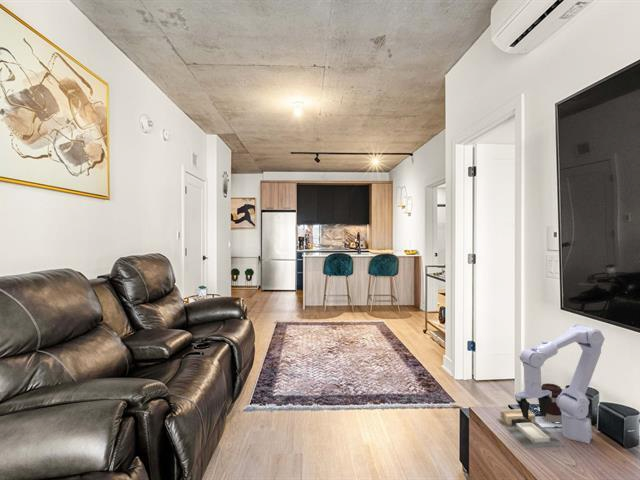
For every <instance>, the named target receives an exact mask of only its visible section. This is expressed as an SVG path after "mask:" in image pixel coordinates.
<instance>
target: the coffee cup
mask: <svg viewBox="0 0 640 480" xmlns="http://www.w3.org/2000/svg"><path fill="white" fill-rule="evenodd" d="M541 387H542V390H549V391H551V392H552V397H549V398H551V399H552V402H551V404H550V405H549V407H548V410H547V413H546V417H544V416H542V418H544V419H545V420H544V419H543V420H544V421H546V420H547V421H546V422H548V421H549V422H548V423H550V422H562V413H561V411H560V408H559V407H558V406H557V403H556V400H557V397H558V396H559V395H560V394H561V392H562V390H563V388H562V387H561V386H560V385H558V384H554V383H543V384H541Z"/></svg>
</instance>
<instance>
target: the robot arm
mask: <svg viewBox="0 0 640 480" xmlns="http://www.w3.org/2000/svg"><path fill="white" fill-rule="evenodd" d="M604 341H605V337H604V335H603V333H602V331H601V330H600V329H597V328H592V327H588V326H584V325H581V324H577V323H576V324H574V325H572V326H570V327H568V329H567V331H565V332H563V334H561V335H559V336H558V337H557V338H555V339H553V340H552V341H550V340H543V341H541V343H539V344H537V345H536V346H533V347H532V348H526V349H523V350H522V351H521V354H520V355H519V360H520V361H521V363H522V367H523V381H524V389H523V390H522V391H520V392H517V393H514V399H515V401H516V402H517V405H518V406H519V409H521V411H522V415H523V417H524V418H526V419H528V417H529V412H528V411H530V410H529V409H530V405H531V403H530V402H529V401H528V400H530V399H537V400H538V405H539V413H540V415H541V416H542V417H543V416H544V417H546V413H547V410H548V407H549V405H550V404H551V402H552V399H551V398H549V397H552V392H551V391H549V390H542V387H541V386H542V371H541V367H542V366H543V365H544V363H545V362H546V361H547V360H548V359H551V358H552V357H554V356H555V355H557V354H558V352H559V351H558V350H560V349H561V348H564V347H567V346H569V345H571V344H574V343H577V344H578V346H580V348H581V350H582V352H581V355H580V357H579V360H578V362H577V366H576V368H575V371H574V373H573V376H572V379H571V380H570V384H569V386H568V387H566V388H564V389H563V388H562V389H563V390H562V392H561V394H560V395H559V396H558V397H557V400H556V403H557V406H558V407H559V408H560V411H561V413H562V423H561V429H562V436H564V437H565V438H567V439H569V440H572V441H577V442H582V443H586V444H590V443H591V441H592V440H593V439H592V438H593V435H592V434H593V433H592V419H590V418H589V417H587V416H588V414H589V407H590V406H589V405H590V400H589V399H588V397H587V395H586V394H587V390H588V387H589V386H590V382H591V380H592V377H593V375H594V372H595V369H596V367H597V364H598V362H599V359H600V357H601V353H602V346H603V345H604Z"/></svg>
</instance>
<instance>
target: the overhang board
mask: <svg viewBox="0 0 640 480" xmlns="http://www.w3.org/2000/svg"><path fill="white" fill-rule="evenodd" d="M528 412H529V417H528V419H526V418H524V417H523V415H522V411H521V409H520V408H515V409H500V418H496V421H497V422H499V424H500V425H501V426H502V427H503V428H504V429H506V431H508V432H509V433H510V435H512V436H513V437H514V438H515V439H516V440H518V442H519V443H520V444H521V445H523V447H525V449H536V448H557V447H566V445H565V444H564V443H563V442H561V441H560V440H559V439H558V438H556V437H555V436H554V435H553V434H551V433H550V432H549V431H547V429H546V428H544V427H542V426H541V425H540V424H539V423H538V422H537V421H536V414H534V413H533V411H532V412H531V411H530V410H529V411H528ZM516 423H533V424H534V425H535V426H536V427H538V428H539V429H540V430H541V431H543V432H544V433H545V434H546V435H547V436H549V437H550V443H541V444H533V443H532V442H531V441H530V440H529V439H528V438H527V437H525V436H524V435H523V434H522V433H521V432H520V431H519V430H518V429H517V428H516Z"/></svg>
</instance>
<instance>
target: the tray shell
mask: <svg viewBox="0 0 640 480" xmlns="http://www.w3.org/2000/svg"><path fill="white" fill-rule="evenodd" d="M516 428H517V429H518V430H519V431H520V432H521V433H522V434H523V435H524V436H525V437H527V438H528V439H529V440H530V441H531V442H532V443H533V444H541V443H550V437H549V436H547V435H546V434H545V433H544V432H543V431H541V430H540V429H539V428H538V427H536V426H535V425H534V424H533V423H516Z"/></svg>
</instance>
